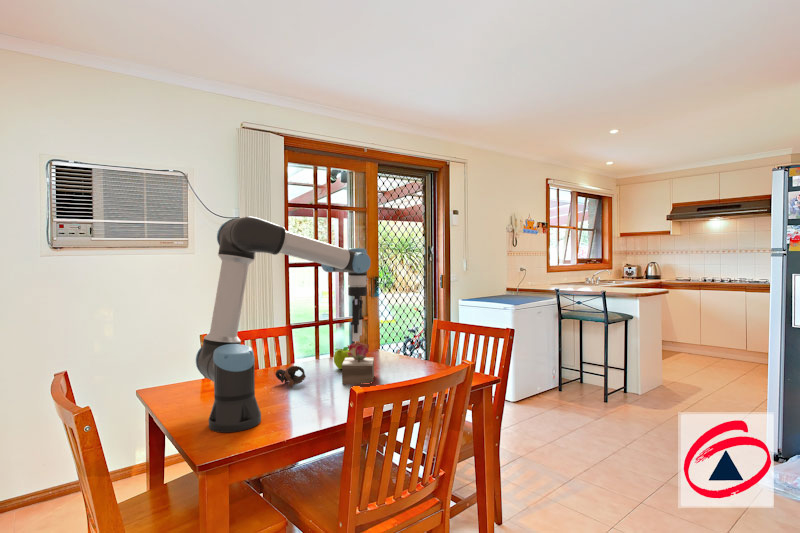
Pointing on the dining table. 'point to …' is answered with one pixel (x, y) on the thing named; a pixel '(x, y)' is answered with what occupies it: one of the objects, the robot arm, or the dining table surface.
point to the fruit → (341, 356)
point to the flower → (358, 351)
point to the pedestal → (358, 371)
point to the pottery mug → (290, 375)
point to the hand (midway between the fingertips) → (357, 338)
